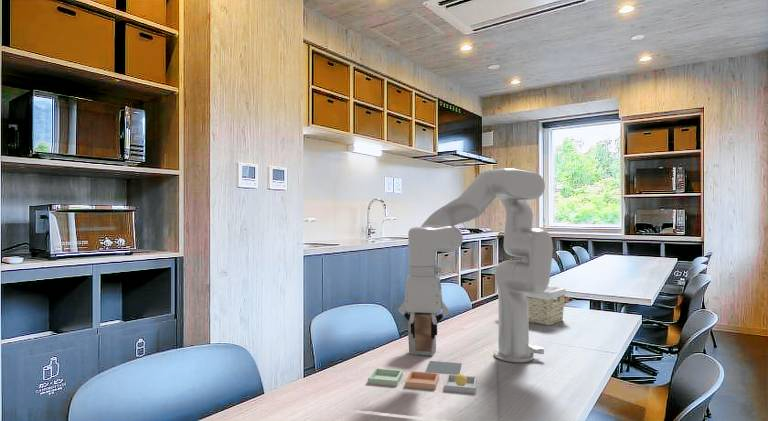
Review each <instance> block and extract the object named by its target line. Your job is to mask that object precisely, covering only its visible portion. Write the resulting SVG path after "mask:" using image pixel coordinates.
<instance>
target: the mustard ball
mask: <svg viewBox="0 0 768 421" xmlns="http://www.w3.org/2000/svg"><path fill="white" fill-rule="evenodd" d="M466 376H467V375H465V374H462V373H460V374H458V375H457V376H456V377H455V382H456V384H457V385H458V386H464V385H465V384H466V383H467V378H466Z"/></svg>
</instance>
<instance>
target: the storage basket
mask: <svg viewBox="0 0 768 421" xmlns="http://www.w3.org/2000/svg"><path fill="white" fill-rule="evenodd" d="M566 290H567V289H566V288H565V287H561V286H556V285H555V286H554V285H549V284H548V287H547V289H546V290H545V291H544V292H543V293H539V294H535V293H529V292H524V293H525V295H526V297H527V300H528V305H529V323H532V324H533V323H535V324H539V325H545V326H551V325H554V324H556V323H558V322H561V321H562V320H563V319H564V312H565V311H564V310H565V295H566V294H567V292H566Z"/></svg>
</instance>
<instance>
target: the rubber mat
mask: <svg viewBox="0 0 768 421" xmlns="http://www.w3.org/2000/svg"><path fill="white" fill-rule="evenodd" d="M462 365H463V364H462V363H461V362H450V361H449V362H448V361H437V360H436V361H435V360H429V362H428V364H427V367H426V369H425V371H424V372H429V373H439V374H443V375H447V374H453V375H458V374H461V369H462Z"/></svg>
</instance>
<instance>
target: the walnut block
mask: <svg viewBox="0 0 768 421" xmlns="http://www.w3.org/2000/svg"><path fill="white" fill-rule="evenodd" d="M431 324H432V318H431V314H428V313H415V314H414V327H415V351H428V352H431V351H432V349H433V346H434V345H433V339H432V338H431Z"/></svg>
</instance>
